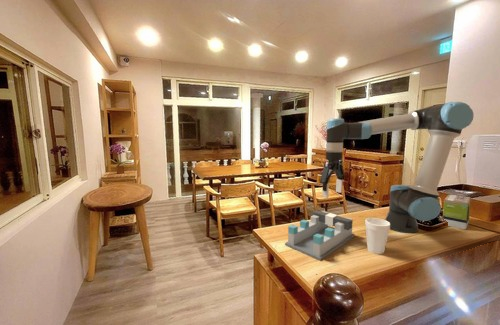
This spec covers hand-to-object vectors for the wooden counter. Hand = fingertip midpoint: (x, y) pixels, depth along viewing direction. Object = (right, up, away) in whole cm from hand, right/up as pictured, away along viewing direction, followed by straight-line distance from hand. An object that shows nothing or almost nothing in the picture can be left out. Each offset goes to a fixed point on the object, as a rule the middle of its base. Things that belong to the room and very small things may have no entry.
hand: (332, 194), depth 113 cm
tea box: (+74, -19, +16) cm, 78 cm away
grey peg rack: (-6, -21, -3) cm, 23 cm away
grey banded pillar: (0, -15, +2) cm, 15 cm away
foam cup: (+14, -23, -12) cm, 30 cm away
